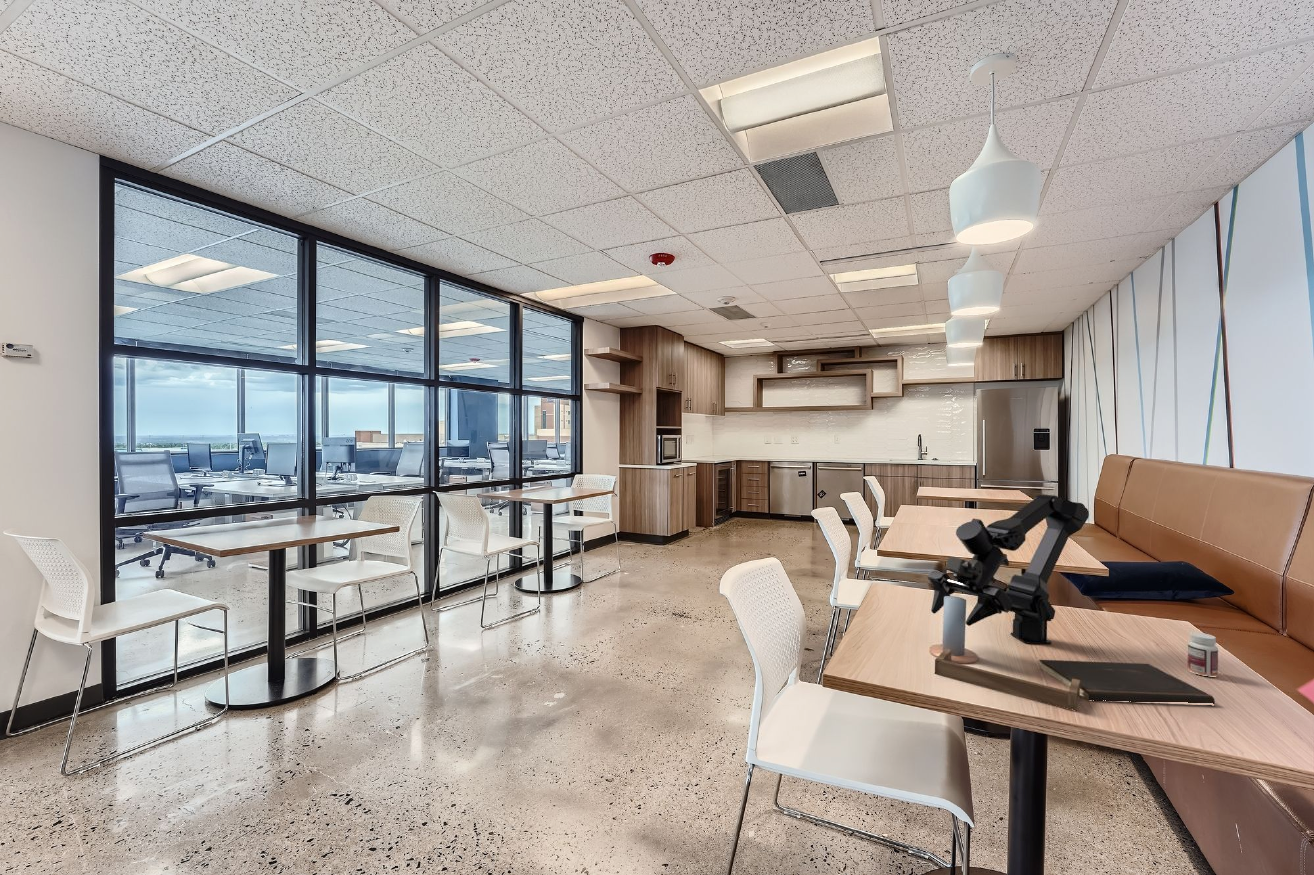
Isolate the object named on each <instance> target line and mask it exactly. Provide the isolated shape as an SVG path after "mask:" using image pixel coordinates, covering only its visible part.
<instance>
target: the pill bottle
mask: <svg viewBox="0 0 1314 875" xmlns="http://www.w3.org/2000/svg"><path fill="white" fill-rule="evenodd" d="M1189 637H1190V641H1188V642H1187V670H1188V672H1190V671H1192V672H1194V673H1198V674H1200V675H1207V676H1217V677H1218V675H1219V673H1218V672H1219V648H1218V646H1216V645H1217V644H1216V643H1217V640H1216V639H1217V637H1215V636H1214V635H1211V634H1209V633H1204V632H1190V636H1189Z"/></svg>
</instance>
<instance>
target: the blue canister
mask: <svg viewBox="0 0 1314 875" xmlns="http://www.w3.org/2000/svg"><path fill="white" fill-rule="evenodd" d="M966 613H967V599H966V598H962V597H961V596H960V597H959V596H954V595H950V596H945V597H944V606H943V615H942V617H943V620H942V651H944V650H945V649H950V650H952V652H951V655H954V656H963V655H964V654H965V647H966V646H965V645H966V625H967V624H966V621H967V619H966V618H967V614H966Z"/></svg>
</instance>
